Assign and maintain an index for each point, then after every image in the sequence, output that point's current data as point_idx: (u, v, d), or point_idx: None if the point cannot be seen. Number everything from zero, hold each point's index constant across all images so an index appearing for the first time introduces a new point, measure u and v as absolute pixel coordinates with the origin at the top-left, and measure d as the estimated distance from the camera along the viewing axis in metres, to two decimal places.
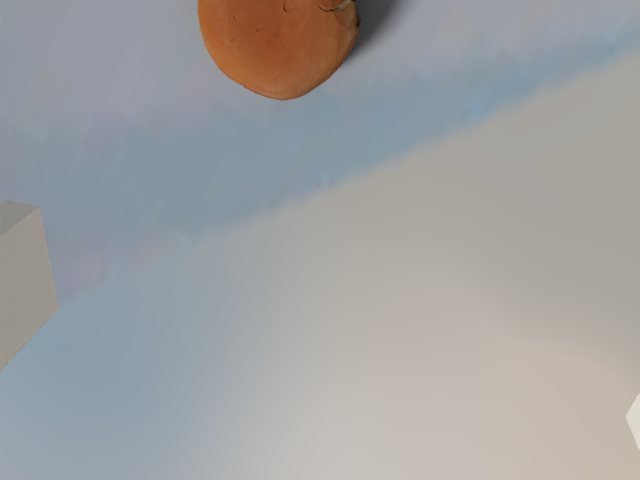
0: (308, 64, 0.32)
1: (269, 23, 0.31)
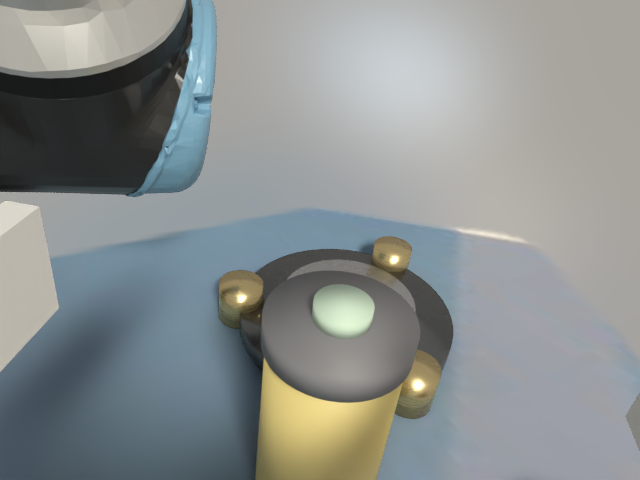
0: None
1: None
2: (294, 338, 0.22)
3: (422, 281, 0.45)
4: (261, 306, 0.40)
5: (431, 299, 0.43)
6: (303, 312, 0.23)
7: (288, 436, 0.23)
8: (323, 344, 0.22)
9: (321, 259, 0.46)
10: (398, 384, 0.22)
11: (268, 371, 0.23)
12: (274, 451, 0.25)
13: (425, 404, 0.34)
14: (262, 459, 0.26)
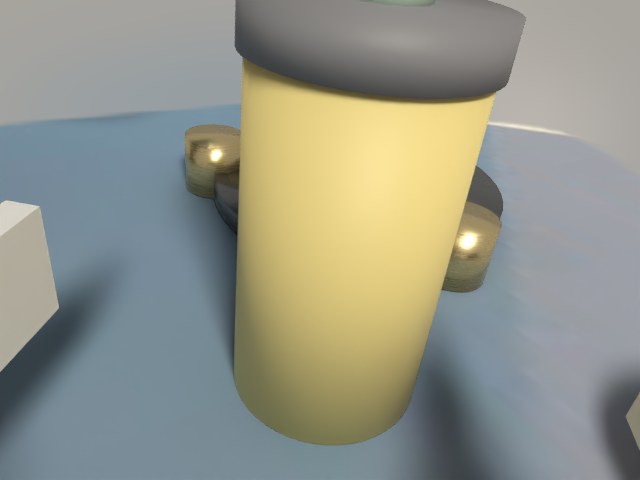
0: None
1: None
2: None
3: None
4: None
5: None
6: None
7: (288, 214, 0.13)
8: (352, 3, 0.11)
9: None
10: (493, 85, 0.12)
11: (249, 91, 0.13)
12: (262, 261, 0.14)
13: (479, 268, 0.24)
14: (243, 294, 0.16)
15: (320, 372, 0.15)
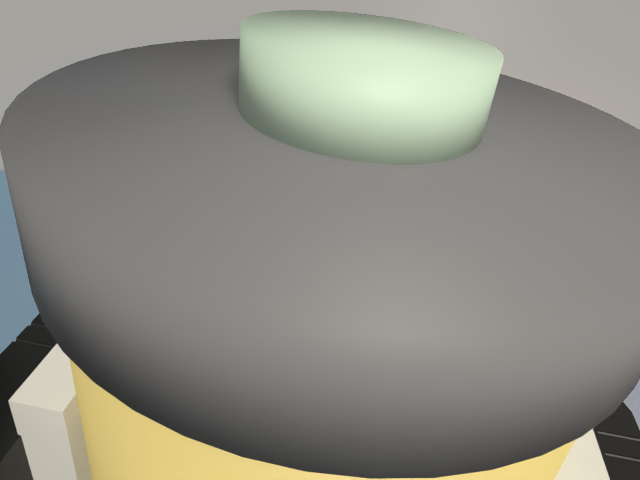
0: None
1: None
2: (136, 153, 0.04)
3: None
4: None
5: None
6: (207, 96, 0.06)
7: None
8: (281, 175, 0.04)
9: None
10: None
11: None
12: None
13: None
14: None
15: None
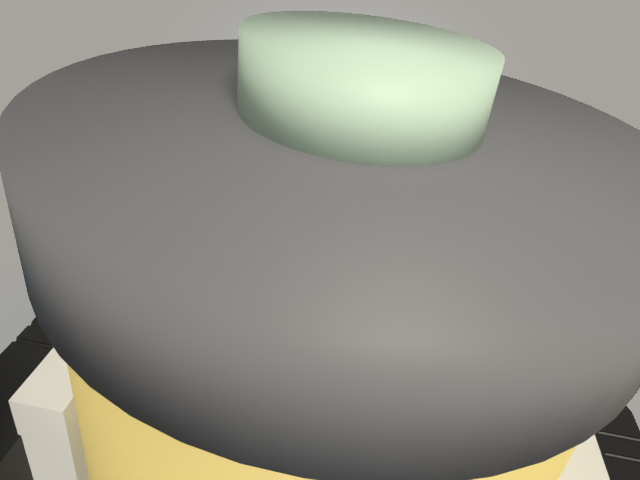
0: None
1: None
2: (133, 155, 0.04)
3: None
4: None
5: None
6: (206, 96, 0.06)
7: None
8: (279, 177, 0.04)
9: None
10: None
11: None
12: None
13: None
14: None
15: None
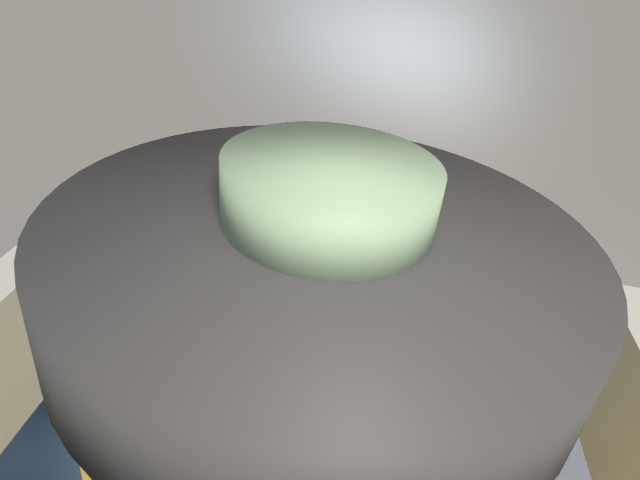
0: None
1: None
2: (129, 283, 0.05)
3: None
4: None
5: None
6: (194, 207, 0.07)
7: None
8: (250, 303, 0.05)
9: None
10: (565, 461, 0.05)
11: None
12: None
13: None
14: None
15: None
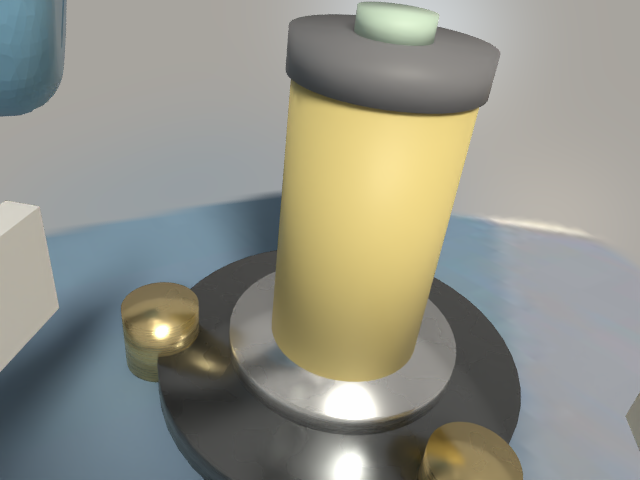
0: None
1: None
2: (335, 39, 0.16)
3: (457, 294, 0.29)
4: (196, 343, 0.24)
5: (474, 323, 0.27)
6: (343, 29, 0.17)
7: (324, 196, 0.18)
8: (375, 44, 0.16)
9: None
10: (475, 103, 0.16)
11: (297, 106, 0.17)
12: (302, 233, 0.19)
13: None
14: (285, 261, 0.20)
15: (345, 320, 0.20)
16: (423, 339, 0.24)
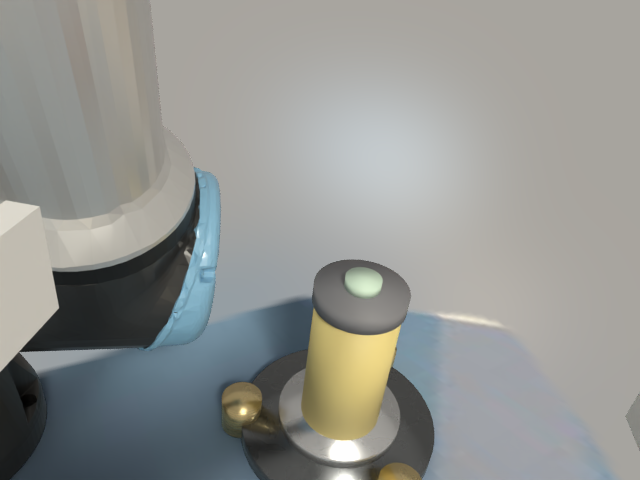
0: None
1: None
2: (335, 298, 0.36)
3: (406, 380, 0.49)
4: (260, 416, 0.44)
5: (414, 400, 0.47)
6: (339, 284, 0.38)
7: (330, 361, 0.38)
8: (352, 301, 0.36)
9: None
10: (397, 325, 0.37)
11: (317, 320, 0.38)
12: (319, 373, 0.39)
13: None
14: (310, 382, 0.41)
15: (340, 413, 0.40)
16: (382, 414, 0.44)
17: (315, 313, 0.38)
